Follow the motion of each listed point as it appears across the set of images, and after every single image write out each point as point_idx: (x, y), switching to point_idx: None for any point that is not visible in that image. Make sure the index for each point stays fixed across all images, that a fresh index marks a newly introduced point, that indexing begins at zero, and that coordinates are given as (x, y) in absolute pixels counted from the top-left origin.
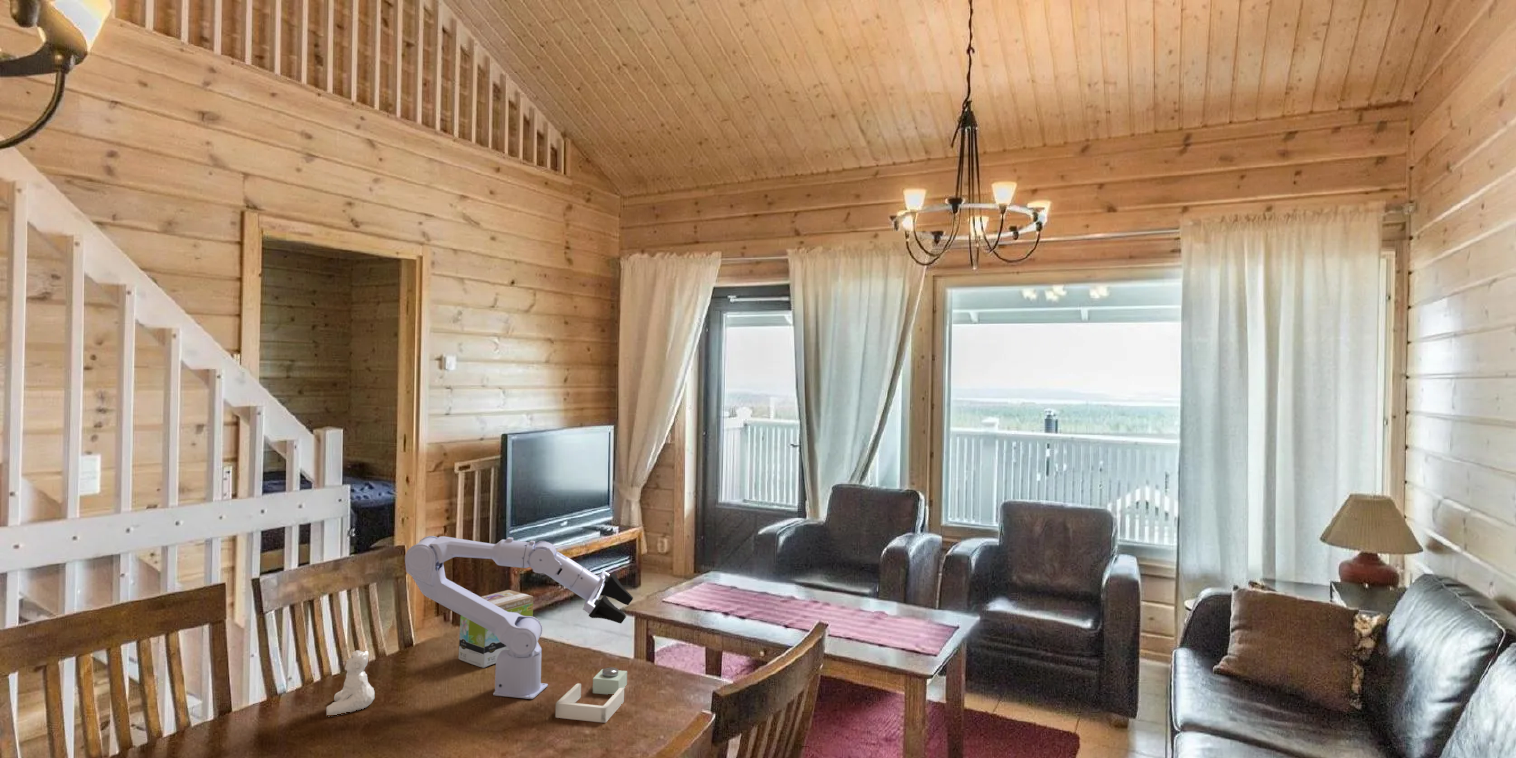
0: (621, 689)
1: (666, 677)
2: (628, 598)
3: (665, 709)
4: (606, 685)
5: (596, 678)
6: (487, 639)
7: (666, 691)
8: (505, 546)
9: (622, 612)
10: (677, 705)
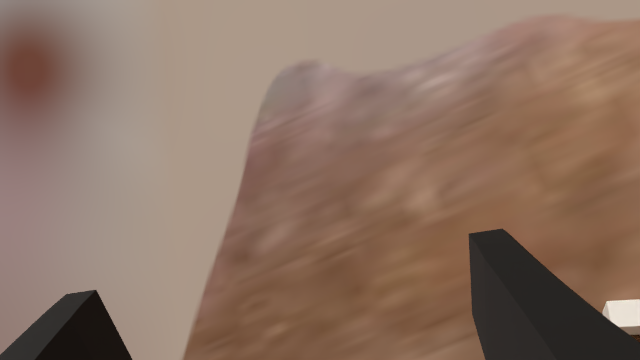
0: (634, 307)
1: (287, 242)
2: (89, 341)
3: (600, 110)
4: None
5: None
6: None
7: (420, 184)
8: None
9: (499, 260)
10: (540, 88)
